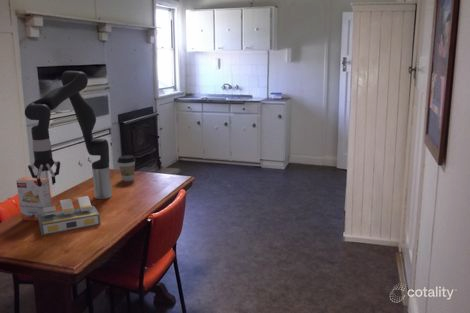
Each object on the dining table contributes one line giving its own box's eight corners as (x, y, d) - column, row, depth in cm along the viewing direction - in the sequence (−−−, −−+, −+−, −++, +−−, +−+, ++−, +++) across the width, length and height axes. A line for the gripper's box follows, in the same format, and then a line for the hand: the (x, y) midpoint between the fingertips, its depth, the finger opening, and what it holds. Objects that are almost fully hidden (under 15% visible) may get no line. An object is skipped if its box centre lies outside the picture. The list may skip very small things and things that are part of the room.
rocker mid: (60, 203, 219) (60, 200, 218) (71, 201, 222) (70, 198, 221) (63, 214, 213) (63, 211, 212) (74, 213, 215) (74, 209, 214)
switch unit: (39, 225, 217) (37, 214, 216) (94, 215, 229) (93, 204, 227) (41, 235, 205) (40, 224, 204) (100, 224, 216) (99, 213, 215)
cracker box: (21, 220, 224) (15, 179, 219) (28, 216, 229) (23, 176, 225) (46, 222, 221) (41, 180, 216) (53, 217, 227) (48, 177, 222)
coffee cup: (116, 182, 286) (114, 158, 282) (123, 177, 297) (121, 154, 293) (133, 182, 284) (131, 159, 280) (139, 177, 295) (138, 155, 291)
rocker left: (43, 213, 216) (42, 208, 216) (54, 211, 218) (53, 206, 218) (44, 212, 208) (43, 207, 208) (55, 210, 210) (55, 205, 210)
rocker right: (77, 200, 223) (77, 197, 222) (88, 199, 225) (87, 195, 224) (81, 211, 216) (80, 208, 215) (91, 210, 219) (91, 206, 217)
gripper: (58, 145, 210) (62, 181, 214) (24, 149, 203) (29, 185, 207) (60, 148, 203) (64, 184, 207) (25, 152, 197) (30, 190, 201)
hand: (46, 185), depth 207 cm, fingers open, 5 cm apart
